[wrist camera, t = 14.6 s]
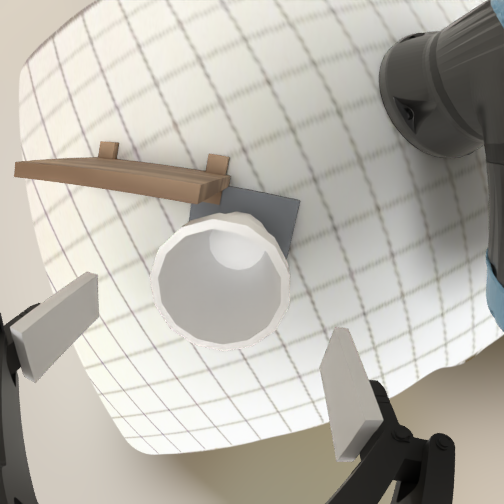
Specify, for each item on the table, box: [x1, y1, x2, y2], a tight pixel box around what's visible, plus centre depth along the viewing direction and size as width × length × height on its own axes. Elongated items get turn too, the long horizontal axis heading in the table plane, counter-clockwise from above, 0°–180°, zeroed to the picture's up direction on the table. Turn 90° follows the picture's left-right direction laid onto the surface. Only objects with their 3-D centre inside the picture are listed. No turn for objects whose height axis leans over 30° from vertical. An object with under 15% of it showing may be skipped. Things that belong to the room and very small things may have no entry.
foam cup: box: [150, 211, 290, 351], centre depth 25 cm, size 10×9×13 cm
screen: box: [14, 141, 231, 205], centre depth 24 cm, size 5×16×14 cm, turn 79°
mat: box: [189, 186, 300, 260], centre depth 32 cm, size 11×11×1 cm
